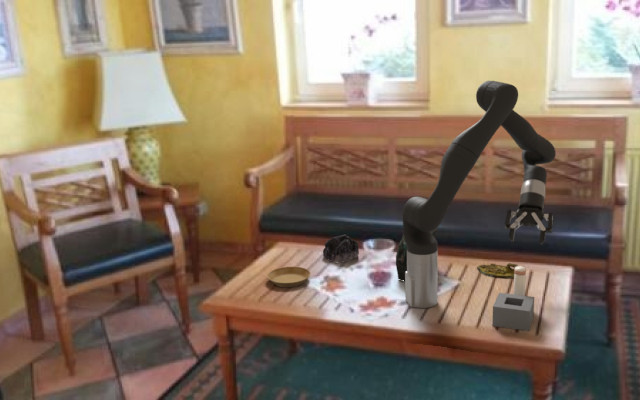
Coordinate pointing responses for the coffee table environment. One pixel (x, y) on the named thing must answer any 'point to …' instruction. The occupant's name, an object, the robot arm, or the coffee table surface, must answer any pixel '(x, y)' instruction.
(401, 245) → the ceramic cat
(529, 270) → the coffee table surface
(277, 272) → the plant saucer
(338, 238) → the crystal cluster
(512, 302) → the hole block
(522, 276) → the dowel
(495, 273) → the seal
